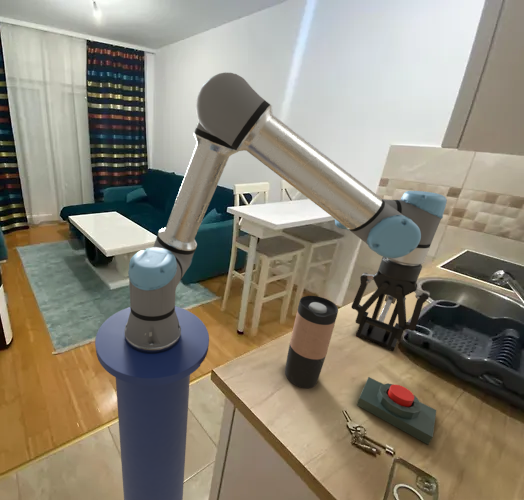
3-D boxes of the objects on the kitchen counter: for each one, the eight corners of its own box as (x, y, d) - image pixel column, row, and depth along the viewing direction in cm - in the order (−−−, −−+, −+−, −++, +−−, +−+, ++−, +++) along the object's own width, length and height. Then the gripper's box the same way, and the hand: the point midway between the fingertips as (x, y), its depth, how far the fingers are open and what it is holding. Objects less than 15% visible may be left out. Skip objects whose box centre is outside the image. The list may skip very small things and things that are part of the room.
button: (385, 398, 59) (388, 392, 58) (389, 387, 62) (392, 381, 61) (410, 411, 56) (413, 404, 56) (412, 398, 59) (415, 392, 58)
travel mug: (299, 360, 73) (316, 292, 66) (325, 382, 67) (347, 310, 59) (276, 369, 70) (291, 299, 63) (301, 394, 64) (321, 318, 56)
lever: (391, 335, 72) (393, 329, 70) (363, 324, 76) (365, 318, 74) (405, 300, 78) (407, 294, 77) (379, 291, 82) (381, 286, 81)
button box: (356, 405, 62) (361, 391, 60) (365, 383, 67) (370, 370, 65) (428, 445, 54) (436, 430, 52) (432, 417, 59) (439, 403, 58)
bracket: (393, 351, 77) (411, 304, 72) (355, 335, 83) (370, 290, 78) (399, 334, 84) (416, 290, 78) (364, 320, 90) (378, 278, 84)
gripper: (458, 268, 63) (421, 352, 72) (360, 244, 75) (338, 318, 84) (457, 279, 58) (417, 367, 67) (352, 252, 70) (329, 330, 79)
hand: (373, 340), depth 75 cm, fingers closed on lever, 6 cm apart
